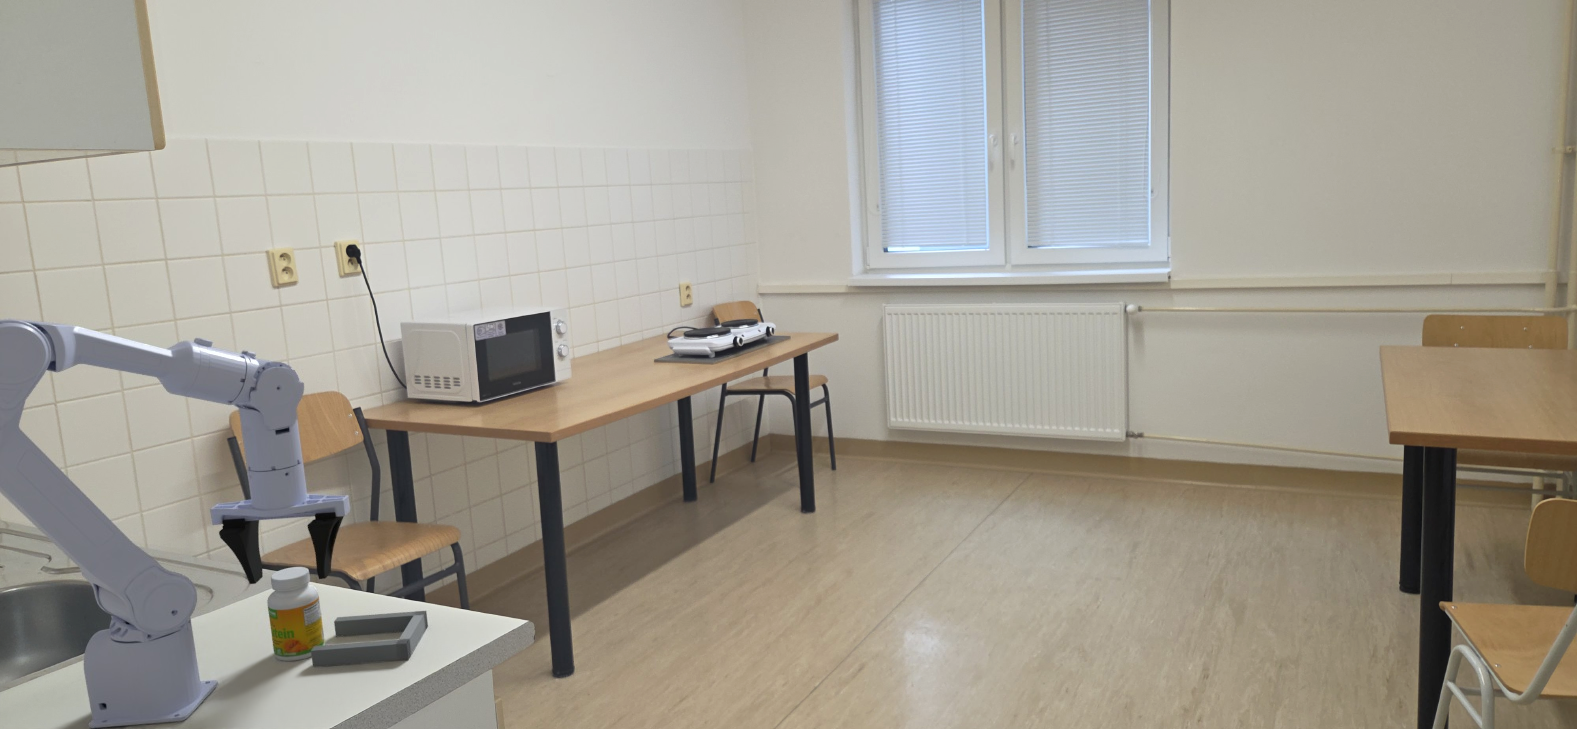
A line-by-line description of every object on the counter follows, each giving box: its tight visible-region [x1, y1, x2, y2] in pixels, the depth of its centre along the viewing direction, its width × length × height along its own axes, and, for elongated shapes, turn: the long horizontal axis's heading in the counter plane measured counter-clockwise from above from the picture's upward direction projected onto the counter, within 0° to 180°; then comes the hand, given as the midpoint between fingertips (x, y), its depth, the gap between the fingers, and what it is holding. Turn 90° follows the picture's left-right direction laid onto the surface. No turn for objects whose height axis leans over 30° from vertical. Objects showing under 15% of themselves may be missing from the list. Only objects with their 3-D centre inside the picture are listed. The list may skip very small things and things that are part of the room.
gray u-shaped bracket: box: [311, 610, 429, 668], centre depth 121 cm, size 10×9×2 cm
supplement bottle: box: [266, 566, 326, 662], centre depth 119 cm, size 5×5×10 cm
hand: (290, 578), depth 119 cm, fingers open, 7 cm apart
